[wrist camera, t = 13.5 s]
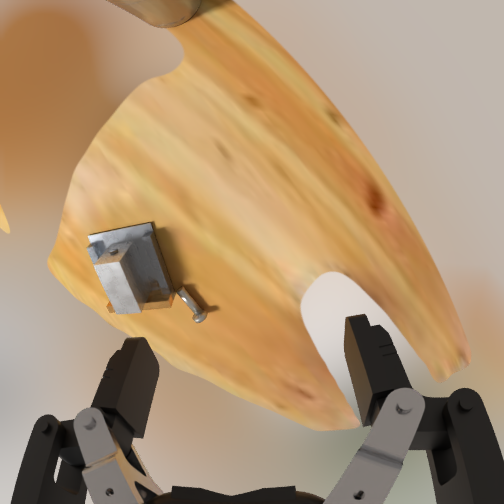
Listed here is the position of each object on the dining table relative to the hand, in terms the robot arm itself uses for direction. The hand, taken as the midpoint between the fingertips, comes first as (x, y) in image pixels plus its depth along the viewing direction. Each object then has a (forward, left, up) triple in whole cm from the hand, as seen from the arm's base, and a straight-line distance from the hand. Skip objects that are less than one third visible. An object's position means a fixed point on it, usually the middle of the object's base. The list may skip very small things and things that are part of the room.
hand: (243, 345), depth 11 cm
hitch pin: (+24, -15, -36) cm, 45 cm away
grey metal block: (+15, -24, -35) cm, 45 cm away
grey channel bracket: (+16, -24, -36) cm, 46 cm away
